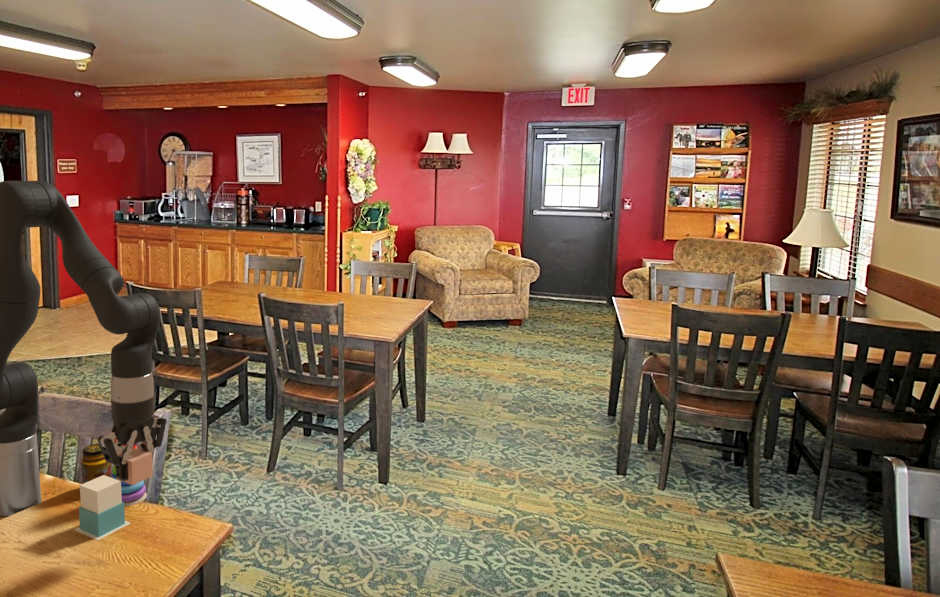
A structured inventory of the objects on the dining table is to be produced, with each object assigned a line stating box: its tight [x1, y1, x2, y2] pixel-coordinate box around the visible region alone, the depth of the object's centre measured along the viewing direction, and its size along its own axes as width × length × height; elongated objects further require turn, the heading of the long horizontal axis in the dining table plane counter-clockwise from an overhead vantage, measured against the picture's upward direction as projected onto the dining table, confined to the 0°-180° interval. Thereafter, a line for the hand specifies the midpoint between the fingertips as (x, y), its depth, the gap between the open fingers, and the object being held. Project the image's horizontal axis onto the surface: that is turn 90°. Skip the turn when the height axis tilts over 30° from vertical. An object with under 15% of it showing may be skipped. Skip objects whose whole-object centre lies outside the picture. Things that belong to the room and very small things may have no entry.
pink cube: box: [117, 447, 154, 485], centre depth 127 cm, size 5×5×5 cm
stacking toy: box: [111, 438, 148, 508], centre depth 146 cm, size 8×8×19 cm
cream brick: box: [79, 475, 122, 514], centre depth 134 cm, size 5×5×5 cm
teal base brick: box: [78, 502, 126, 537], centre depth 135 cm, size 6×6×5 cm
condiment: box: [81, 443, 113, 484], centre depth 149 cm, size 7×8×12 cm
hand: (134, 473), depth 128 cm, fingers closed on pink cube, 4 cm apart
